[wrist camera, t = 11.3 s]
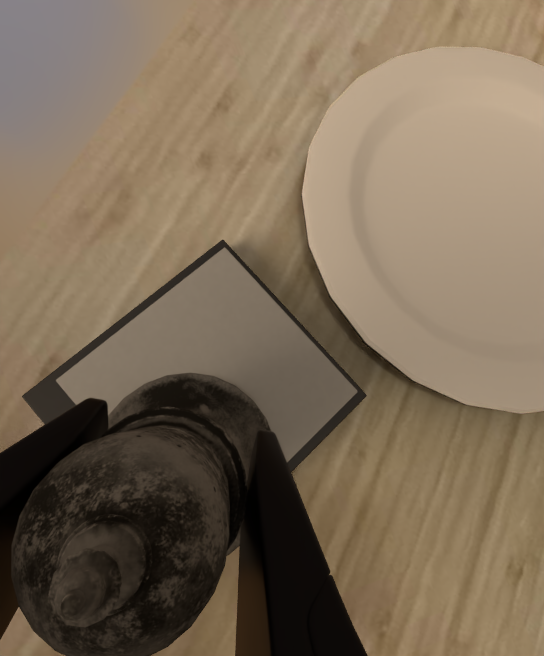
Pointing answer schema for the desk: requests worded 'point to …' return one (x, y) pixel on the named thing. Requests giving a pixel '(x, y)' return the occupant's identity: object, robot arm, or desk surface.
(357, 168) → the plate
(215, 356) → the scale
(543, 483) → the desk surface
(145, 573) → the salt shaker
